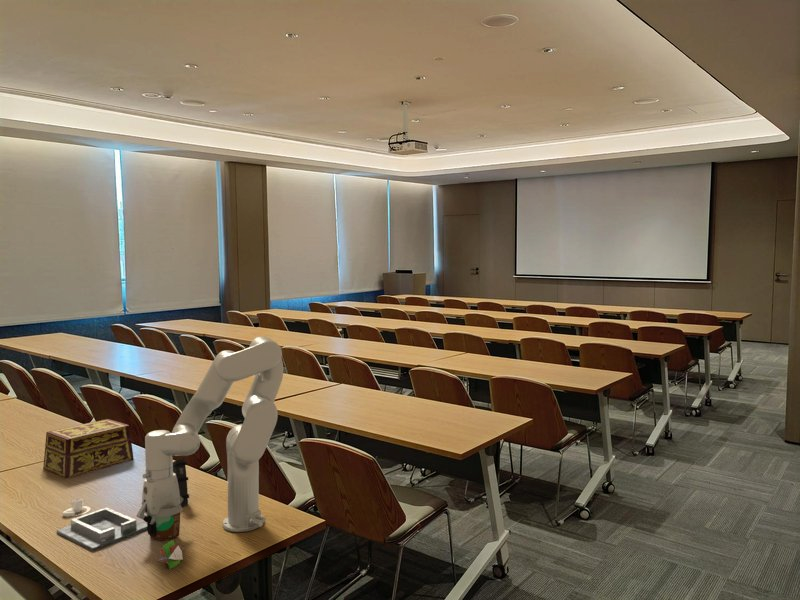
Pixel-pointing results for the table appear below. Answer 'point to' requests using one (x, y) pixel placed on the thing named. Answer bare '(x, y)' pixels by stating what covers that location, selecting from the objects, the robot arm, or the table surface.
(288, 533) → the table surface
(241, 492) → the robot arm
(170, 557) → the geometric puzzle
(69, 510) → the white curved piece
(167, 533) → the food container
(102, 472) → the table surface
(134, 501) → the table surface
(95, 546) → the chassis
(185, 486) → the black tall block
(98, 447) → the decorative box
